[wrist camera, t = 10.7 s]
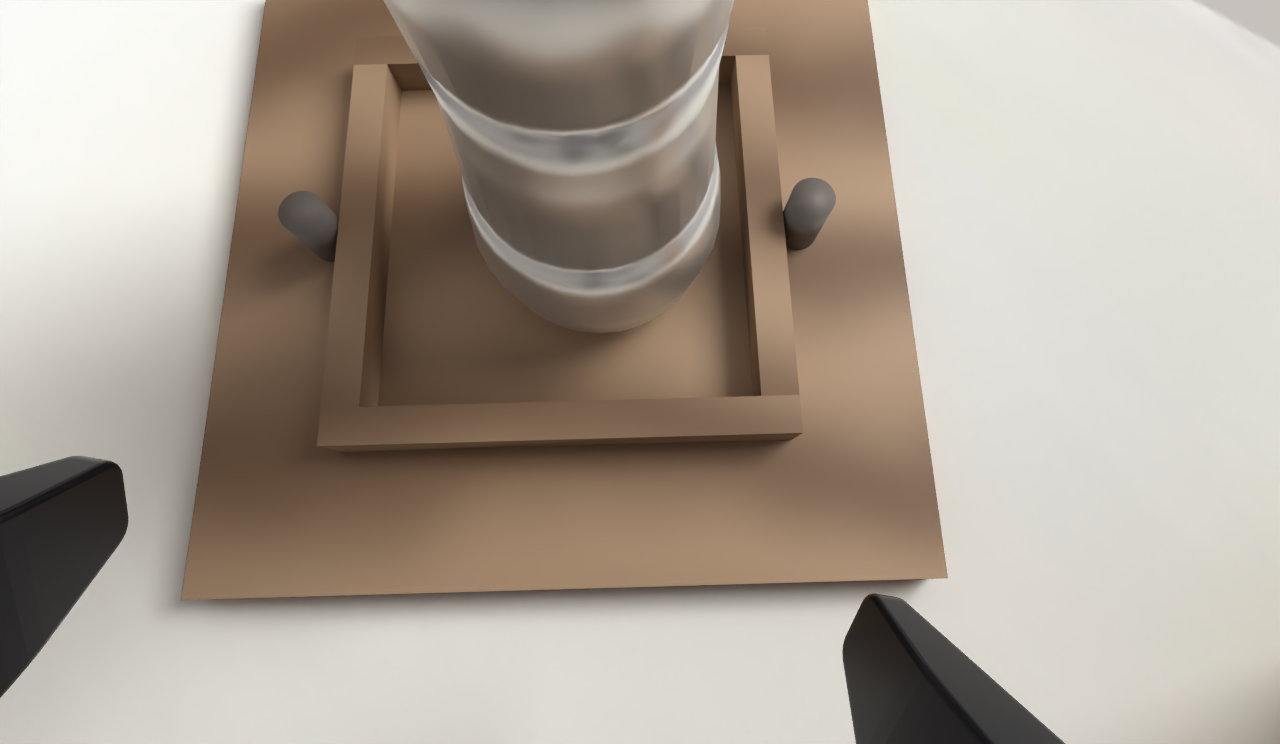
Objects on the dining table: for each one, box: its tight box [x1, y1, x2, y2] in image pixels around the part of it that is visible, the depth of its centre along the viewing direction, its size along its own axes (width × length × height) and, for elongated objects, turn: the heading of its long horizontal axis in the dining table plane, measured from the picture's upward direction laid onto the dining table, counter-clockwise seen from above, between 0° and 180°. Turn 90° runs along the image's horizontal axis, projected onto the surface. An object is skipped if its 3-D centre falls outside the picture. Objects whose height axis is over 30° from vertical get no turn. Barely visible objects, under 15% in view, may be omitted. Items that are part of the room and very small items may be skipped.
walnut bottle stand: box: [181, 0, 948, 600], centre depth 19 cm, size 20×20×3 cm
